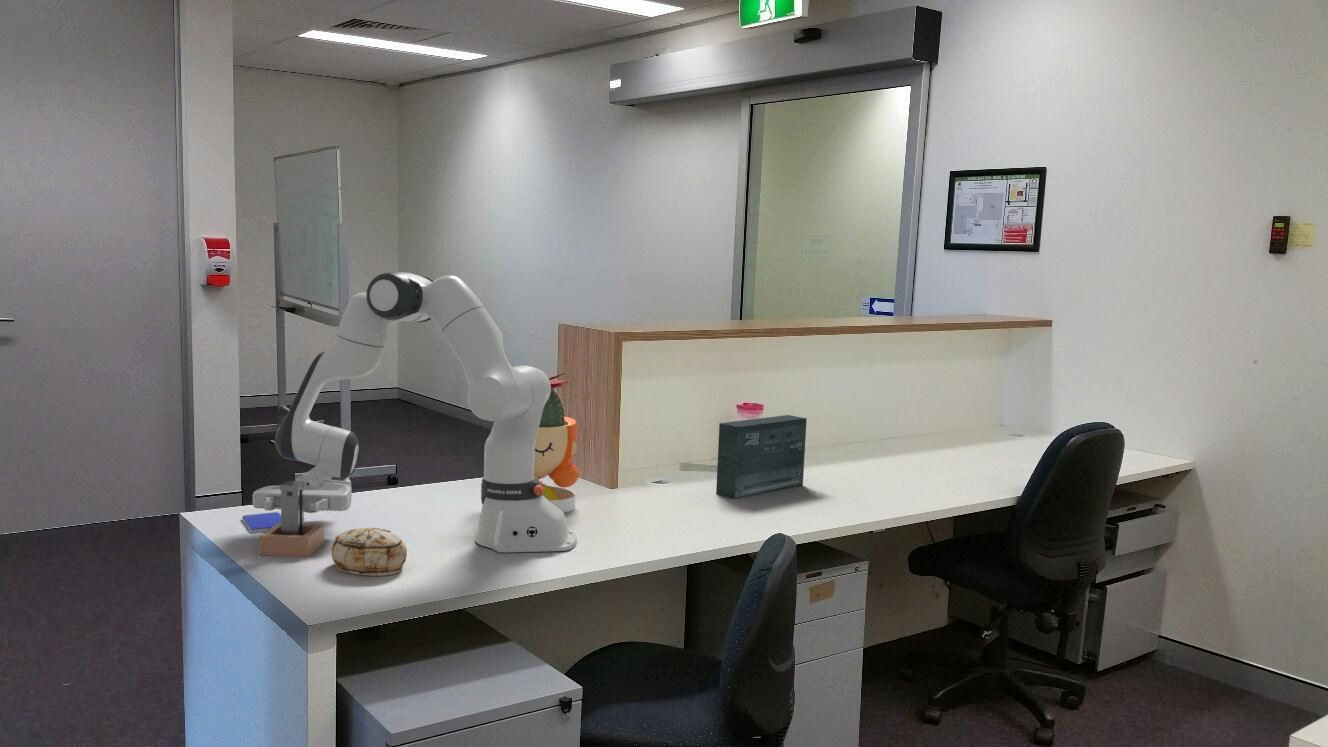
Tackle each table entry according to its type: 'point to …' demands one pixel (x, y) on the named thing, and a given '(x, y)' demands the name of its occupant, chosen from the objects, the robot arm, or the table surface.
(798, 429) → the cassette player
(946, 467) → the table surface
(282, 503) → the grey chimney stack
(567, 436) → the potted cactus
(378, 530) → the trinket box
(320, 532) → the holder
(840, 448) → the table surface
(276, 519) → the hard drive
